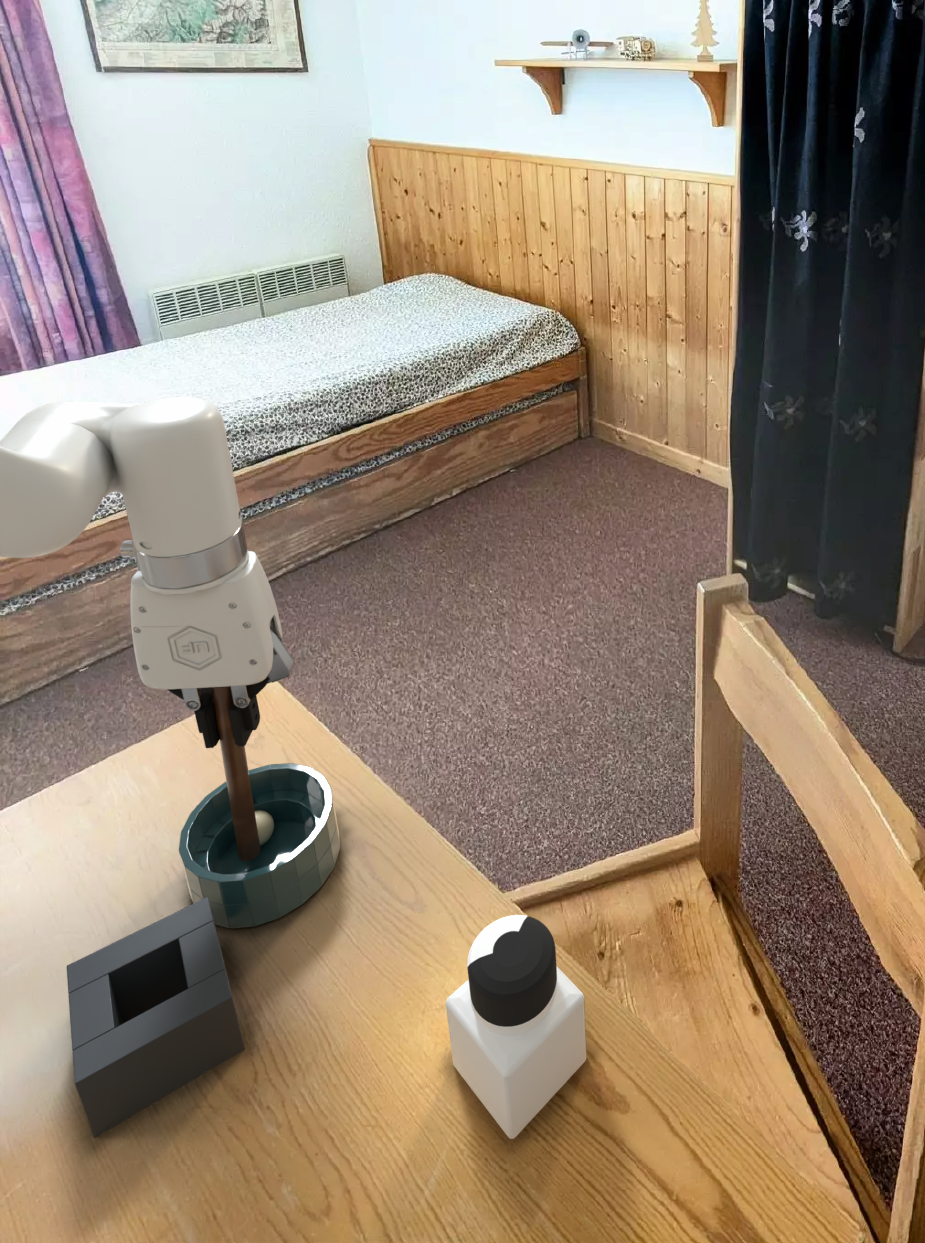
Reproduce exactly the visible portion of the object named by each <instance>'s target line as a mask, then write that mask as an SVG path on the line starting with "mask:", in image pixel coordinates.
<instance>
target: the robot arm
mask: <svg viewBox="0 0 925 1243" xmlns="http://www.w3.org/2000/svg"><path fill="white" fill-rule="evenodd" d="M115 492H117V493H119V494H121V495H122V499H123V503H124V507H125V512H126V516H127V520H128V524H129V528H130V532H131V537H132V539H128V540H127V539H126V540H123V541H122V542H121V544H120V546H119V554H120V556H121V558H124V559H125V558H131V560H135V562H136V566H137V571H136V572H135V573H134V574H133V575H132V577H131V580H130V581H131V582H130V596H129V598H130V599H129V601H130V605H129V606H130V609H129V610H130V626H131V627H130V628H131V636H132V645H133V651H134V652H133V653H134V658H135V663H136V668H137V672H138V676H139V678H140V682H141V683H143V684H144V686H146V687H148V688H150V689H154V690H155V689H156V690H167V691H168V692H169V693H171V694H173V695H174V696H176V697H178V698H180V700H183V702H184V706H185V708H186V709H187V710H188V711H191V712H194V717H195V721H196V726H197V730H198V733H199V734H202V737H203V738H202V739H203V743H204V746H205V747H204V748H205V749H214V748H215V747H216V746H217V745H218V744H219V742H220V739H219V733H218V727H217V721H216V715H215V709H214V703H213V697H212V690H211V687H227V686H231V691H232V696H233V704H232V706H231V707H230V710H229V716H230V721H231V726H232V731H233V735H234V740H235V744H236V745H237V746H245V747H246V745H247V743H248V741H249V739H250V737H251V735H252V733H253V731H256V730H257V729H258V727H259V725H260V722H261V713H260V708H259V702H258V697H257V695H258V694H260V692H262V691H263V689H265V687H266V686H267V684H268V685H269V684H274V683H275V682H278V681H280V680H283V679H286V678H288V677H290V676H291V674H292V673H293V670H294V668H295V666H296V661H295V659H294V657H292V655H291V654H290V652H289V651H288V649H287V648H286V647H285V645H284V635H283V629H282V624H281V619H280V615H279V611H278V607H277V604H276V600H275V597H274V593H273V590H272V588H271V585H270V581H269V579H268V577H267V575H266V572H265V570H264V566H263V565H262V563H261V561H260V559H259V557H258V555H257V553H256V552H255V551H252V550H248V545H247V538H246V534H245V528H244V523H243V518H242V513H241V508H240V502H239V497H238V496H239V495H238V492H237V486H236V481H235V476H234V470H233V464H232V458H231V453H230V448H229V443H228V436H227V431H226V427H225V422H224V418H223V415H222V413H221V411H220V409H218V407H217V406H216V405H215V404H214V403H212V402H211V401H209V400H206V399H204V398H200V397H196V396H195V397H194V396H171V397H163V398H158V399H153V400H148V401H145V402H141V403H126V402H125V403H122V402H101V401H84V400H74V401H73V400H68V401H67V400H66V401H56V402H52V403H47V404H44V405H41V406H38V407H36V408H33V409H32V410H30V411H28V412H27V413H26V414H25V415H24V416H22V417H21V418H20V419H19V420H18V421H17V422H16V423H15V424H14V425H13V427H11V429H10V430H9V431H8V432H7V433H6V434H5V435H4V436H3V438H1V439H0V558H8V559H29V558H38V557H42V556H45V555H49V554H53V553H56V552H58V551H60V550H61V549H63V548H65V547H67V546H69V545H70V544H72V542H74V541H75V540H76V539H77V538H78V537H80V535H82V534H83V532H84V531H85V530H86V528H87V527H88V526H89V525H90V523H91V521H92V519H93V517H94V516H95V513H96V512H97V510H98V509H99V506H100V505H101V503H102V501H103V499H104V498H105V497H107V496H108V495H109V494H111V493H115Z"/></svg>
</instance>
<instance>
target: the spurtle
mask: <svg viewBox="0 0 925 1243" xmlns="http://www.w3.org/2000/svg"><path fill="white" fill-rule="evenodd" d="M211 690H212V697H213V703H214V709H215V715H216V721H217V727H218V733H219V746H220V753H221V758H222V762H223V769H224V776H225V782H227V788H228V795H229V801H230V807H231V813H232V819H233V825H234V831H235V837H236V844H237V850H238V856H239V859H240V860H241V861H250V860H253V859H254V858H256V857H257V856H258V855H259V853H260V850H261V849H260V842H259V836H258V829H257V823H256V816H255V810H254V803H253V797H252V790H251V784H250V777H249V771H248V770H249V765H248V761H247V760H248V759H247V751H246V745H245V746H237V745H236V744H235V740H234V735H233V731H232V726H231V721H230V716H229V710H230V707H231V706H232V704H233V696H232V691H231V686H227V687H211Z"/></svg>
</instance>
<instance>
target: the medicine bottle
mask: <svg viewBox="0 0 925 1243" xmlns="http://www.w3.org/2000/svg"><path fill="white" fill-rule="evenodd" d="M470 946H471V947H470V949H469V952H468V956H467V962H466V963H467V964H466V966H467V967H466V968H467V978H468V979H467V980H465V982H463V984H461V986H459V987H458V988H457V989H456V990H455V991H453V993H452V994H450V995H449V996H448V997H447V999H446V1001H445V1010H446V1016H447V1017H446V1018H447V1024H448V1025H447V1026H448V1032H449V1033H448V1034H449V1043H450V1052H451V1059H452V1066H453V1067H454V1068H455V1070H456V1071H457V1072H458V1074H459V1075H460V1076H461V1077H462V1079H463V1081H465V1082H466V1084H467V1085H468V1087H469V1088H470V1089H471V1091H472V1092H473V1093H474V1095H475V1096H476V1097H477V1099H478V1100H479V1101H480V1103H482V1105H483V1106H484V1107H485V1109H486V1110H487V1111H488V1113H489V1114H490V1115H491V1117H492V1118H493V1119H494V1121H495V1122H496V1123H497V1125H498V1126H499V1127H500V1129H501V1130H502V1131H503V1132H504V1134H505V1135H506V1137H507V1138H508V1139H510V1140H514V1139H516V1138H517V1137H518V1135H520V1133H521V1132H522V1131H523V1130H524V1129H525V1128H526V1126H528V1125H529V1123H530V1122H531V1121H533V1119H534V1118H535V1117H536V1116H537V1114H538V1113H539V1112H540V1111H541V1110H542V1109H543V1108H544V1107H545V1106H546V1105H547V1104H548V1103H549V1102H550V1100H551V1099H552V1098H553V1097H554V1096H556V1094H557V1093H558V1092H559V1091H560V1089H562V1087H563V1086H564V1085H565V1084H566V1083H567V1082H568V1081H569V1080H570V1079H571V1077H573V1075H574V1074H575V1073H576V1072H577V1071H578V1070H579V1069H580V1068H581V1066H583V1064H584V1063H585V1062H586V1060H587V1034H586V1032H587V1031H586V1009H585V1008H586V1007H585V1006H586V1005H585V995H584V993H583V992H582V991H581V990H580V989H579V988H578V987H577V986H576V984H574V982H573V981H572V980H571V979H570V978H569V977H568V976H567V975H566V974H565V973H564V972H563V971H562V970H561V969H560V968H559V966H557V951H556V950H557V949H556V942H555V938H554V936H553V934H552V932H551V931H550V929H549V928H548V927H547V926H546V925H545V924H544V923H543V922H542V921H541V920H539V919H537V918H535V917H532V916H530V915H526V914H525V915H524V914H512V915H511V914H510V915H507V916H503V917H500V918H498V919H496V920H494V921H493V922H491V923H490V924H488V925H487V926H486V927H484V928H483V929H482V930H481V931H480V932H479V933H478V935H477V936H476V938H475V939H474V941H473V942H472V944H471V945H470Z"/></svg>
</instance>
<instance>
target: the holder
mask: <svg viewBox="0 0 925 1243" xmlns="http://www.w3.org/2000/svg"><path fill="white" fill-rule="evenodd" d="M216 926H217V925H215V922H214V918H213V914H212V910H211V906H210V902H209V898H208V897H206V898H204V899H202V900H200V901H198V902H196V903H194V904H193V903H192V904H190V905H187V906H186V907H184V908H182V909H179V910H177V911H176V912H174V913H171V914H169V915H168V916H165V917H163V918H161V919H159V920H157V921H155V922H153V923H151V924H149V925H147V926H145V927H143V928H141V929H138V930H137V931H135V932H132V933H131V934H128V935H126V936H125V937H122V938H121V939H118V940H116V941H114V942H112V943H110V944H108V945H106V946H104V947H102V948H100V949H98V950H96V951H93V952H92V953H89V954H88V955H86V956H84V957H81V958H80V959H77V960H75V961H73V962H71V963H69V964H67V965H66V978H67V994H68V1011H69V1022H70V1038H71V1051H72V1065H73V1066H72V1067H73V1079H74V1080H73V1081H74V1086H75V1089H76V1092H77V1094H78V1097H79V1100H80V1103H81V1106H82V1108H83V1111H84V1113H85V1116H86V1119H87V1122H88V1125H89V1128H90V1130H91V1133H92V1136H93V1138H94V1139H96V1138H98V1137H99V1136H101V1135H102V1134H104V1133H106V1132H108V1131H110V1130H111V1129H113V1128H114V1127H116V1126H118V1125H120V1124H122V1123H123V1122H125V1121H126V1120H129V1119H130V1118H132V1117H133V1116H135V1115H136V1114H138V1113H140V1112H142V1111H143V1110H145V1109H146V1108H148V1107H150V1106H152V1105H154V1104H155V1103H157V1102H159V1101H161V1100H162V1099H164V1098H166V1097H167V1096H169V1095H170V1094H172V1093H174V1092H176V1091H177V1090H179V1089H180V1088H182V1087H184V1086H186V1085H187V1084H189V1083H191V1082H192V1081H194V1080H196V1079H197V1078H199V1077H202V1075H205V1074H206V1073H208V1072H210V1071H211V1070H213V1069H214V1068H216V1067H218V1066H219V1065H221V1064H223V1063H224V1062H226V1061H228V1060H230V1059H231V1058H233V1057H235V1056H237V1055H238V1054H240V1053H241V1052H244V1051H245V1050H246V1046H245V1041H244V1038H243V1034H242V1030H241V1026H240V1022H239V1017H238V1014H237V1009H236V1005H235V1000H234V997H233V992H232V989H231V984H230V980H229V976H228V975H229V974H228V971H227V967H226V964H225V959H224V956H223V951H222V947H221V943H220V938H219V935H218V931H217V927H216Z"/></svg>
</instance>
